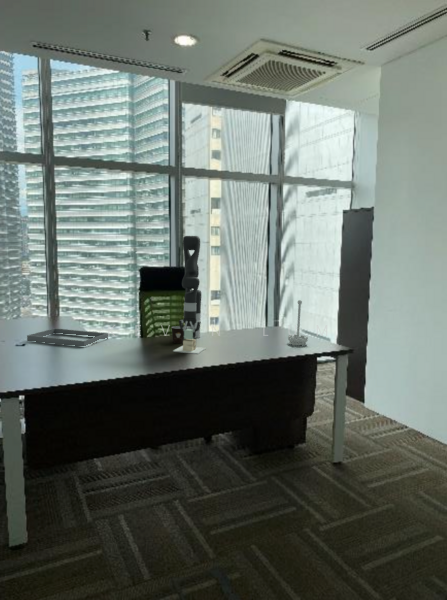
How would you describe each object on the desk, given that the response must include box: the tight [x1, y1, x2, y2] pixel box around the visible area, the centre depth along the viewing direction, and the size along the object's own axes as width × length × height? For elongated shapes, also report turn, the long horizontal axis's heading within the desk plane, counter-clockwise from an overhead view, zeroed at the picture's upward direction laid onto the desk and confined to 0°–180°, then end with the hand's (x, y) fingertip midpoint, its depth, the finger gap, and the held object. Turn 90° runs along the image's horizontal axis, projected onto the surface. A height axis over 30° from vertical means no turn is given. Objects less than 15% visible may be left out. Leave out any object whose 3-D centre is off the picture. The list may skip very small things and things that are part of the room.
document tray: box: [26, 327, 109, 346], centre depth 291 cm, size 27×42×4 cm, turn 73°
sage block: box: [183, 329, 194, 340], centre depth 272 cm, size 5×5×5 cm
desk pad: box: [172, 345, 207, 355], centre depth 274 cm, size 14×16×1 cm
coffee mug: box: [171, 325, 185, 344], centre depth 295 cm, size 12×9×10 cm
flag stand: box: [287, 299, 309, 346], centre depth 299 cm, size 13×13×30 cm
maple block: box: [182, 338, 197, 351], centre depth 273 cm, size 6×6×6 cm
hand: (189, 337), depth 273 cm, fingers closed on sage block, 5 cm apart
